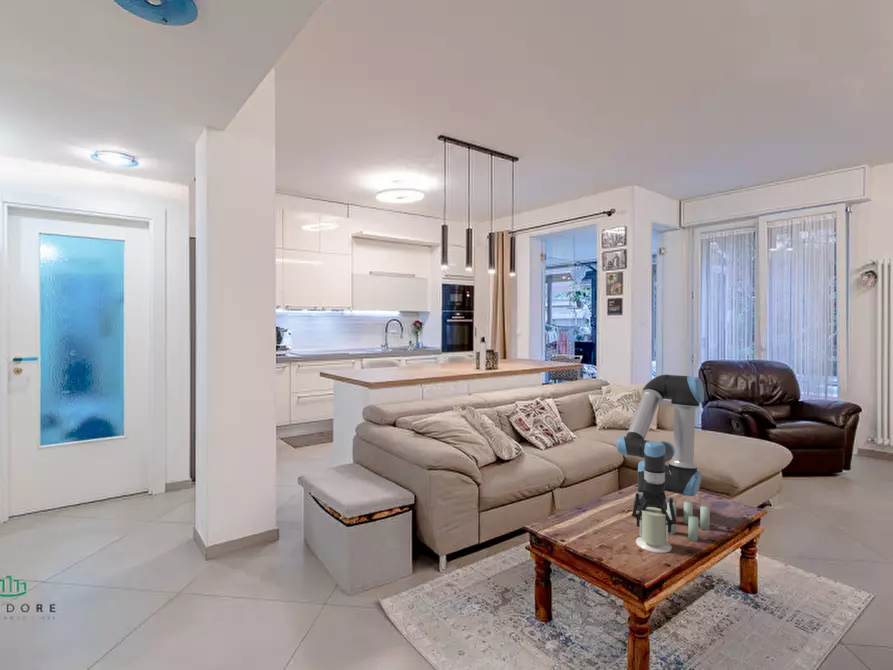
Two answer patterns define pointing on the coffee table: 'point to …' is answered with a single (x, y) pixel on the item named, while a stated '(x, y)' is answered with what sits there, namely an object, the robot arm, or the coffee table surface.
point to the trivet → (653, 546)
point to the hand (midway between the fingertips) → (653, 537)
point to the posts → (692, 519)
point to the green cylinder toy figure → (653, 526)
